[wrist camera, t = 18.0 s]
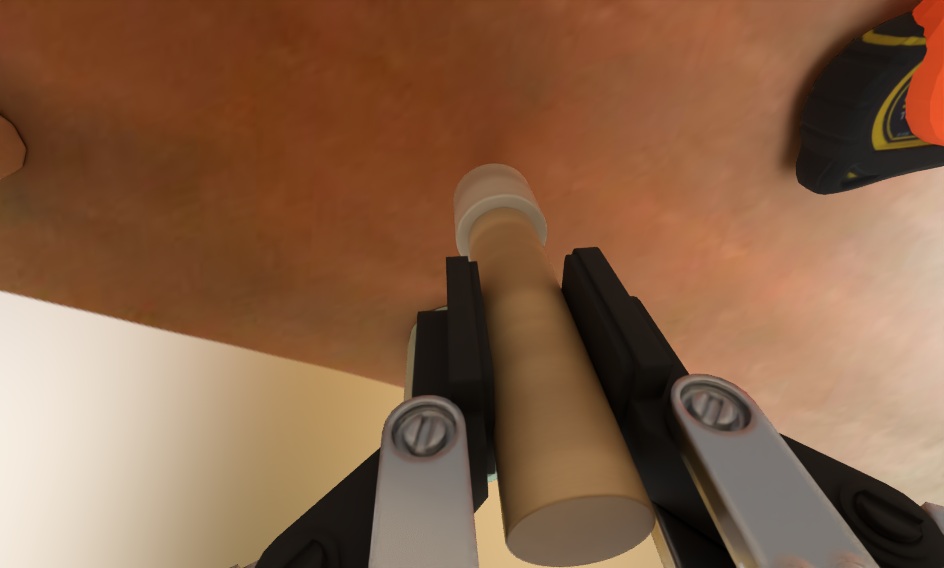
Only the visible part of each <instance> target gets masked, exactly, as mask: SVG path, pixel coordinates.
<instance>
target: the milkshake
mask: <svg viewBox="0 0 944 568" xmlns="http://www.w3.org/2000/svg"><path fill="white" fill-rule="evenodd" d="M25 153H26V147H25V146H24V144H23V142H22V140H21V138H20V137H19V135H18V133H17V131H16V129H15V128H14V126H13V125H12V124H11V123H10V122H8V121H7V120H6V119H4V118H3V117H2V116H1V115H0V179H2V178H4V177H5V176H7V175H9V174H11V173H13V172H15V171H17V170H18V169H20V168H22V166H23V161H24V157H25Z"/></svg>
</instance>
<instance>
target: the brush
mask: <svg viewBox="0 0 944 568" xmlns="http://www.w3.org/2000/svg"><path fill="white" fill-rule="evenodd" d="M453 207H454V221H455V235H456V244H457V248H458V251H459V253H460V255H461V256H468V260H469V261H477V264H478V271H479V277H480V284H481V291H482V298H483V305H484V311H485V318H486V325H487V332H488V339H489V346H490V352H491V359H492V366H493V375H494V399H495V426H494V428H493V432H492V439H493V447H494V455H495V464H496V472H497V480H498V487H499V496H500V503H501V512H502V520H503V529H504V537H505V543H506V546H507V547H508V549H509V551H510V552H511V553H512V554H513V555H514V556H515V557H517V558H519V559H520V560H522V561H525V562H528V563H531V564H536V565H541V566H551V567H570V566H579V565H586V564H591V563H596V562H599V561H603V560H607V559H610V558H613V557H615V556H618V555H620V554H622V553H624V552H627V551H628V550H630V549H632V548H634V547H635V546H637V545H638V544H640V543H641V542H642V541H644V540H645V539H646V538H647V537H648V536H649V535H650V533H651V532H652V530H653V528H654V526H655V522H656V514H655V511H654V508H653V506H652V504H651V501H650V499H649V497H648V494H647V492H646V489H645V487H644V485H643V482H642V480H641V478H640V475H639V473H638V470H637V468H636V466H635V463H634V461H633V459H632V456H631V454H630V452H629V449H628V447H627V444H626V442H625V440H624V437H623V435H622V433H621V430H620V428H619V425H618V423H617V421H616V418H615V416H614V414H613V411H612V409H611V407H610V404H609V402H608V399H607V397H606V395H605V392H604V390H603V388H602V385H601V383H600V380H599V378H598V376H597V373H596V371H595V369H594V366H593V364H592V361H591V359H590V357H589V354H588V352H587V350H586V347H585V345H584V343H583V340H582V338H581V335H580V333H579V331H578V328H577V326H576V324H575V321H574V319H573V316H572V314H571V312H570V309H569V307H568V305H567V302H566V300H565V297H564V295H563V293H562V290H561V288H560V286H559V283H558V281H557V279H556V276H555V274H554V271H553V269H552V267H551V264H550V262H549V260H548V257H547V255H546V252H545V250H544V245H545V243H546V239H547V224H546V220H545V217H544V215H543V213H542V211H541V209H540V207H539V205H538V203H537V201H536V199H535V197H534V194H533V192H532V190H531V188H530V186H529V184H528V182H527V180H526V179H525V178H524V176H523V175H522V174H521V173H520V172H519V171H517V170H516V169H514V168H512V167H510V166H507V165H504V164H498V163H491V164H485V165H481V166H479V167H476V168H474V169H473V170H471V171H470V172H468V173H467V174H466V175H465V176H464V177H463V178H462V179H461V181H460V182H459V184H458V185H457V187H456V190H455V193H454V199H453Z"/></svg>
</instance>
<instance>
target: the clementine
mask: <svg viewBox="0 0 944 568" xmlns="http://www.w3.org/2000/svg"><path fill="white" fill-rule="evenodd" d="M912 11H913V14H912V15H913V16H914V20H915V21H916V23H917V24H918V25H920V26H922V27H924V28H925V29H924V34H923V35H924V36H925V37H926V38H927V39H926V47H927V53H926V55H925V57H924V60H923V62H922V63H921V65H920V66H919V67H918V68H917V70H916V71H915V72H914V74H913V76H912V79H911V82H910V86H909V89H908V93H907V96H906V117H905V118H906V120H907V122H908V125H909V127H910V129H911V132H912V133H913V134H914V135H916V136H917V137H918V138H919V139H921V140H922V141H923V142H926V143H931V144H936V145H941V146H944V0H923V1H922V2H921V3H920V4H918V5H917V6H916V7H915V8H914V9H913V10H912ZM912 11H911V12H912Z"/></svg>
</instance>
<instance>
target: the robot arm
mask: <svg viewBox="0 0 944 568" xmlns="http://www.w3.org/2000/svg"><path fill="white" fill-rule="evenodd" d="M446 274H447V309H448V310H434V311H421V312H418V315H417V327H416V342H415V356H414V371H413V386H412V398H411V399H409V400H407V401H404V402H402V403H401V404H400V405H398V406H397V407H396V408H395V409H394V410H393V411H392V412H391V413H390V415H389V416H388V418H387V420H386V421H385V424H384V427H383V431H382V439H381V447H380V448H379V449H378V450H377V451H376V452H375V453H373V454H372V455H371V456H370V457H369V458H368V459H367V460H365V461H364V462H363V463H362V464H361V465H360V466H358V467H357V468H356V469H355V470H354V471H353V472H352V473H350V474H349V475H348V476H347V477H346V478H345V479H344V480H342V481H341V482H340V483H339V484H338V485H337V486H336V487H334V488H333V489H332V490H331V491H330V492H329V493H327V494H326V495H325V496H324V497H323V498H322V499H320V500H319V501H318V502H317V503H316V504H315V505H314V506H312V507H311V508H310V509H309V510H308V511H307V512H306V513H305V514H303V515H302V516H301V517H300V518H299V519H298V520H296V521H295V522H294V523H293V524H292V525H291V526H290V527H288V528H287V529H286V530H285V531H284V532H283V533H282V534H280V535H279V536H278V537H277V538H276V539H275V540H274V541H273V542H272V544H271V545H269V547H268V548H267V549H266V550H265V551H264V552H263V554H262V556H261V557H260V559H259V560H258V561H256V562H254V563H252V564H250V565H248V566H246V567H244V568H479V563H478V552H477V542H476V531H475V520H474V513H475V512H476V511H477V510H478V508H479V507H480V506H481V505H482V504H483V503H484V501H485V500H486V499H487V498H488V474H495V455H494V447H493V439H492V432H493V428H494V426H495V399H494V375H493V366H492V359H491V352H490V346H489V339H488V332H487V325H486V318H485V311H484V305H483V298H482V291H481V284H480V277H479V271H478V264H477V261H469V260H468V256H457V257H446ZM561 290H562V293H563V295H564V297H565V300H566V302H567V305H568V307H569V309H570V312H571V314H572V316H573V319H574V321H575V324H576V326H577V328H578V331H579V333H580V335H581V338H582V340H583V343H584V345H585V347H586V350H587V352H588V354H589V357H590V359H591V361H592V364H593V366H594V369H595V371H596V373H597V376H598V378H599V380H600V383H601V385H602V388H603V390H604V392H605V395H606V397H607V399H608V402H609V404H610V407H611V409H612V411H613V414H614V416H615V418H616V421H617V423H618V425H619V428H620V430H621V433H622V435H623V437H624V440H625V442H626V444H627V447H628V449H629V452H630V454H631V456H632V459H633V461H634V463H635V466H636V468H637V470H638V473H639V475H640V478H641V480H642V482H643V485H644V487H645V489H646V492H647V494H648V497H649V499H650V501H651V504H652V506H653V508H654V511H655V514H656V522H655V526H654V528H653V530H652V532H651V535H652V537H653V540H654V543H655V545H656V548H657V550H658V553H659V556H660V558H661V562H662V564H663V567H664V568H944V507H943V506H939V505H935V504H932V503H928V502H925V503H924V504H923V505H922V506H919V505H918V504H916V503H915V502H914V501H912V500H911V499H910V498H909V497H907V496H906V495H905V494H903V493H901V492H900V491H898V490H896V489H894V488H893V487H891V486H889V485H887V484H885V483H883V482H881V481H879V480H877V479H875V478H873V477H871V476H869V475H867V474H864V473H862V472H860V471H858V470H856V469H854V468H852V467H850V466H848V465H845V464H843V463H841V462H839V461H837V460H835V459H833V458H831V457H829V456H827V455H824V454H822V453H820V452H818V451H816V450H814V449H812V448H810V447H808V446H805V445H803V444H801V443H799V442H797V441H795V440H793V439H791V438H789V437H787V436H784V435H782V434H780V433H778V432H777V430H776V429H775V428H774V426H773V425H772V424H771V422H770V421H769V420H768V418H767V417H766V416H765V414H764V413H763V412H762V410H761V409H760V408H759V406H758V405H757V404H756V402H755V401H754V400H753V399H752V398H751V397H750V396H749V395H748V394H747V393H746V392H745V391H744V390H742V389H741V388H739V387H738V386H736V385H735V384H733V383H731V382H729V381H727V380H724V379H722V378H719V377H715V376H712V375H708V374H691V375H689V373H688V372H687V370H686V369H685V367H684V366H683V364H682V363H681V361H680V360H679V358H678V357H677V355H676V354H675V352H674V351H673V349H672V348H671V346H670V345H669V343H668V342H667V340H666V339H665V337H664V336H663V334H662V333H661V331H660V330H659V328H658V327H657V325H656V324H655V322H654V321H653V319H652V318H651V316H650V315H649V313H648V312H647V310H646V309H645V307H644V306H643V304H642V303H641V301H640V300H639V299H638V298H637V297H634V296H629V294H628V293H627V291H626V290H625V288H624V286H623V285H622V283H621V282H620V280H619V279H618V277H617V276H616V274H615V272H614V271H613V269H612V268H611V266H610V265H609V263H608V261H607V260H606V258H605V257H604V255H603V254H602V252H601V251H600V249H599V248H598V247H589V248H575V249H574V250H573V252H572V254H571V255H566V257H565V261H564V270H563V280H562V289H561ZM231 568H240V567H239V566H238V564H237V565H235V566H233V567H231Z"/></svg>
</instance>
